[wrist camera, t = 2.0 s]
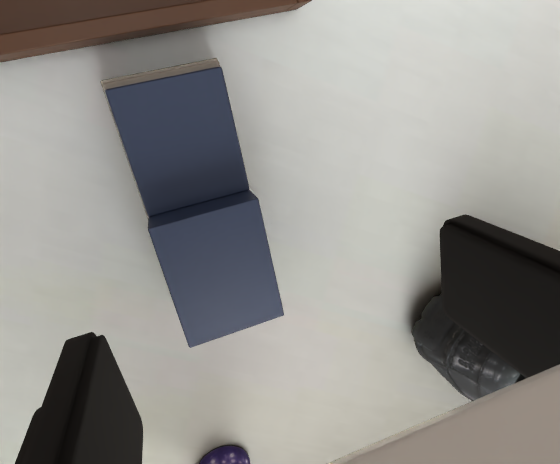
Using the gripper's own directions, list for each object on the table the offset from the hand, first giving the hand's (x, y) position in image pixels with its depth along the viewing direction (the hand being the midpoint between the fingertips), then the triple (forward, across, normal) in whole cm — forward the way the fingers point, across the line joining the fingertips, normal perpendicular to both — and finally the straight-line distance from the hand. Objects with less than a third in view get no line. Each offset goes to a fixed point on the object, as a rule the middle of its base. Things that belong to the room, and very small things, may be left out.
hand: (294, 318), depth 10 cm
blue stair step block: (+15, +1, 0) cm, 15 cm away
